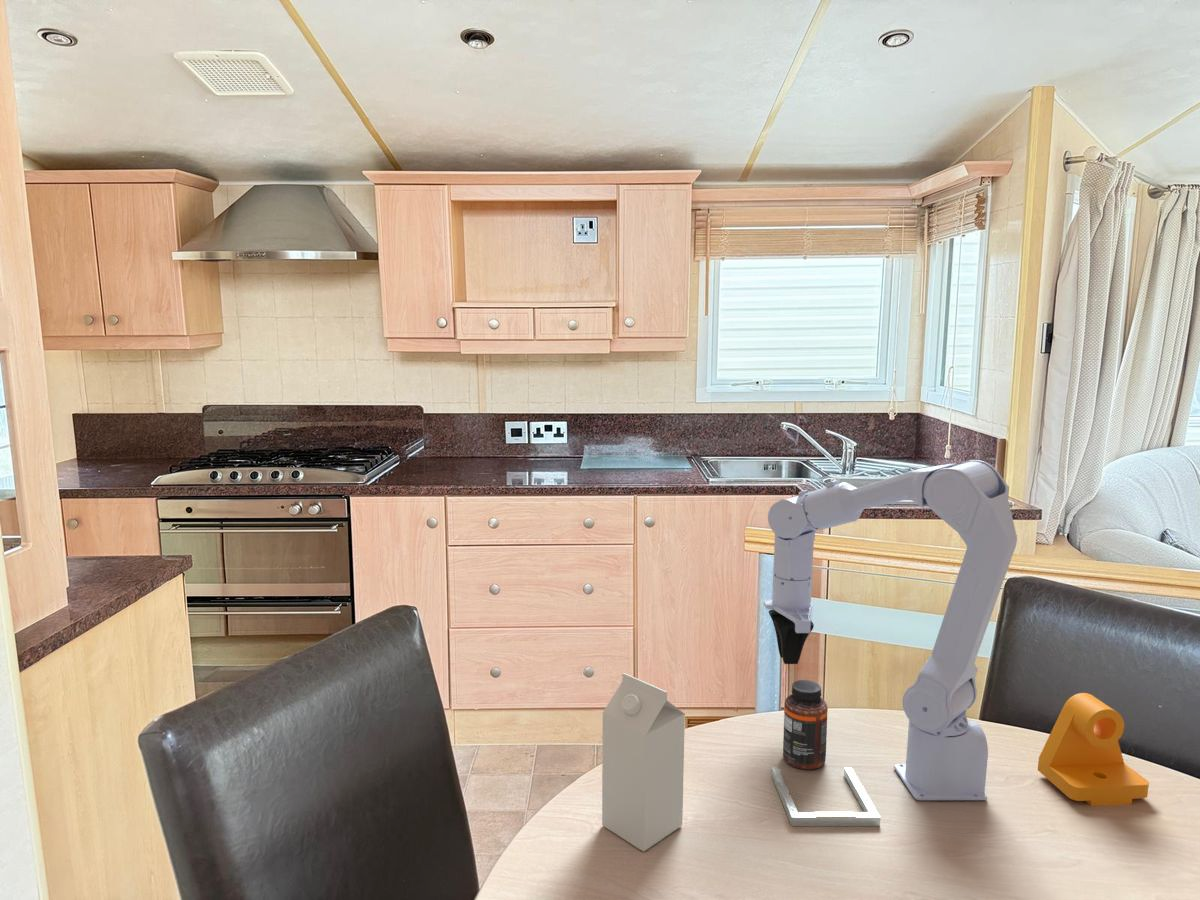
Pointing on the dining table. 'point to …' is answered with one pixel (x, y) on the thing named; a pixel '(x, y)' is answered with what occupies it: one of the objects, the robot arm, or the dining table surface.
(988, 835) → the dining table surface
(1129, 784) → the bracket
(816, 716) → the supplement bottle
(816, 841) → the dining table surface
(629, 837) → the milk carton
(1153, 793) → the dining table surface
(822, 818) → the frame
